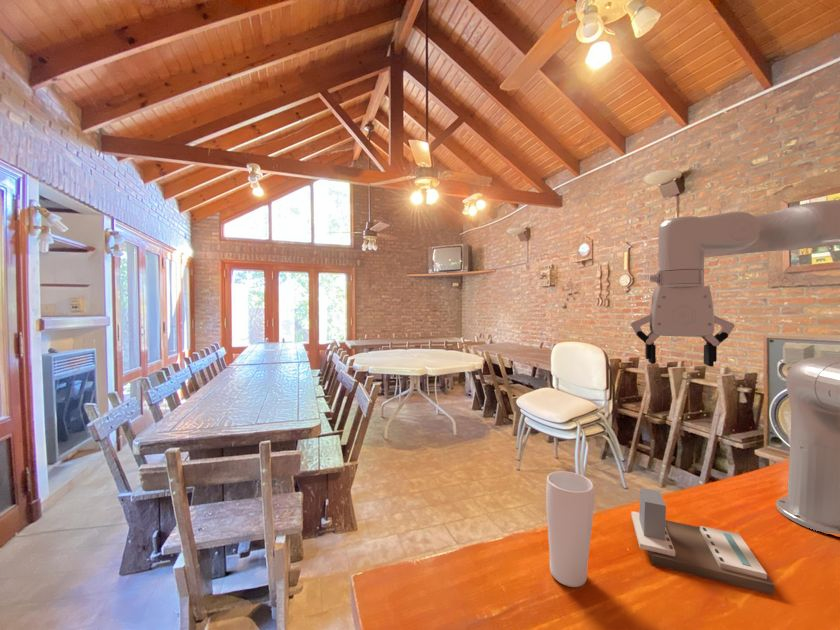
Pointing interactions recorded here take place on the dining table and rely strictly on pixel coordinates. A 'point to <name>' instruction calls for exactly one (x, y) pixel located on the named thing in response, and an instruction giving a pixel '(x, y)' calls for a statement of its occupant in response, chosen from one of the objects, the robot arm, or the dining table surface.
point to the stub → (652, 523)
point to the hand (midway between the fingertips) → (679, 364)
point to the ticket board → (713, 557)
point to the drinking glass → (569, 525)
